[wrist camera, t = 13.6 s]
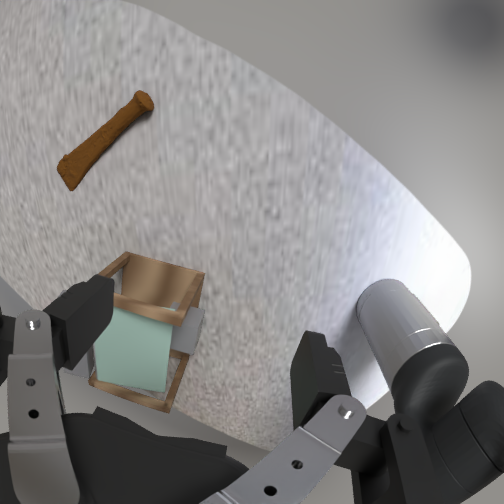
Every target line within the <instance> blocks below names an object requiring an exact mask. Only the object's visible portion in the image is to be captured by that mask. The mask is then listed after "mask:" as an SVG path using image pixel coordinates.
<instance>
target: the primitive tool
mask: <svg viewBox="0 0 504 504" xmlns="http://www.w3.org/2000/svg"><path fill="white" fill-rule="evenodd" d="M153 109H154V103H153V101H152V100H151V98H150V96H149V95H148V94H147V93H145V92H143V91H141V90H139V91H137V92H136V93H135V94H134V97H133V99H132V100H131V101H130V102H129V103H128V104H127V105H126V106H124V107H123V108H121V109H120V110H119V111H118V112H117V113H116V114H115V116H114V117H113V118H111V119H110V120H109V121H108V122H107V123H106V124H104V125H103V126H101V128H100V129H98V130H97V131H96V132H95V133H94V134H92V135H91V136H90V137H89V138H88V139H87V140H85V141H84V142H83V143H82V144H80V145H79V146H78V147H77V148H76V149H74V150H73V151H72V152H71V153H69V154H68V155H64V157H63V159H61V160H60V161H59V164H58V166H57V171H58V173H59V174H60V176H61V177H62V179H63V181H64V182H65V184H66V185H67V187H68V188H69V190H70V191H73V190H74V189H75V188H76V187H77V185H78V184H79V183H80V182H81V180H82V179H83V177H84V176H85V174H86V173H87V172H88V170H89V169H90V167H91V166H92V165H93V164H94V163H95V161H96V160H97V159H99V156H100V155H101V154H102V153H103V152H104V151H105V150H106V148H108V147H109V145H110V144H111V143H112V142H113V141H114V140H115V139H116V138H117V136H119V135H120V133H122V132H123V130H125V128H127V127H128V126H129V124H131V123H132V122H133V121H134V120H135V119H136V118H138V117H139V116H140V115H142V114H143V113H144V112H146V111H152V110H153Z"/></svg>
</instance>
